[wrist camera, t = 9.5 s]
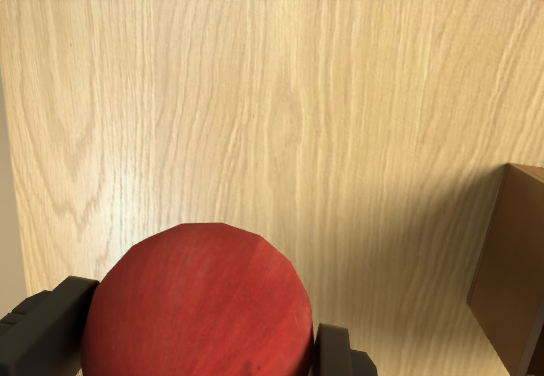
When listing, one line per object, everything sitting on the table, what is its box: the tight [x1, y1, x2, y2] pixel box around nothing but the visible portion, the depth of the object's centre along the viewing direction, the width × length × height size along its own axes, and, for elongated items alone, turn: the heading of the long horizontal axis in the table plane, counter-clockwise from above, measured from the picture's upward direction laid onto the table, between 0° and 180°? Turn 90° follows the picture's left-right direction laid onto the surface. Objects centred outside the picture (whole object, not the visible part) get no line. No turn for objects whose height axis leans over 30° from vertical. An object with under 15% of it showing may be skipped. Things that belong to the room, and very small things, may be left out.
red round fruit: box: [80, 223, 314, 376], centre depth 12 cm, size 6×6×8 cm
